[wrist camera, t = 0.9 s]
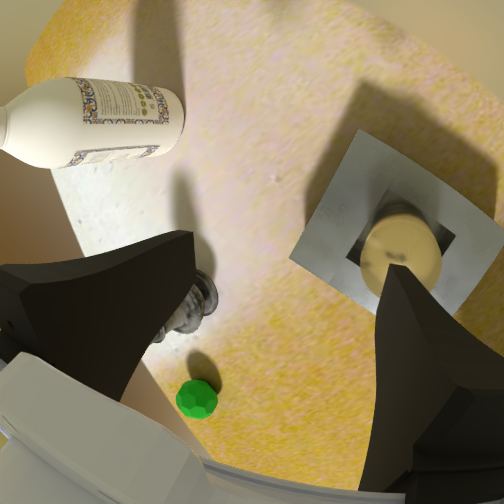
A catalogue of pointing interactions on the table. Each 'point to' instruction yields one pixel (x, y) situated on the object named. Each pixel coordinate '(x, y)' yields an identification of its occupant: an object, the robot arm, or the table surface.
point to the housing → (375, 200)
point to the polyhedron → (196, 399)
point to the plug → (400, 247)
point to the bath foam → (89, 122)
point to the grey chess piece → (192, 308)
